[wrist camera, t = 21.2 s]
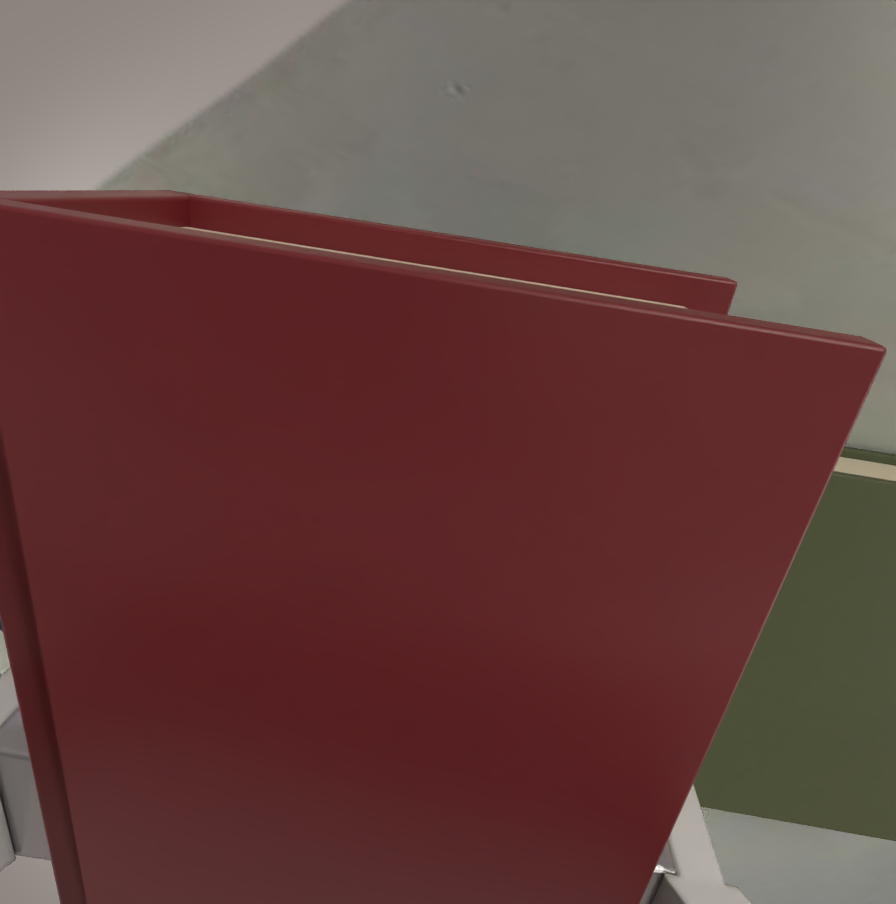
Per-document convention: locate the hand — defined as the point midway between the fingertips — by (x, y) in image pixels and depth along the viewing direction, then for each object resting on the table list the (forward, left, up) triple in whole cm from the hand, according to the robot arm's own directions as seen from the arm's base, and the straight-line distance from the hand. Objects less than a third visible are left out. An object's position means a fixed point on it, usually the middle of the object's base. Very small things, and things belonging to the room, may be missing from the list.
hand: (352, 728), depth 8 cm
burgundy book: (0, 0, -1) cm, 1 cm away
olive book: (+8, +18, -15) cm, 25 cm away
